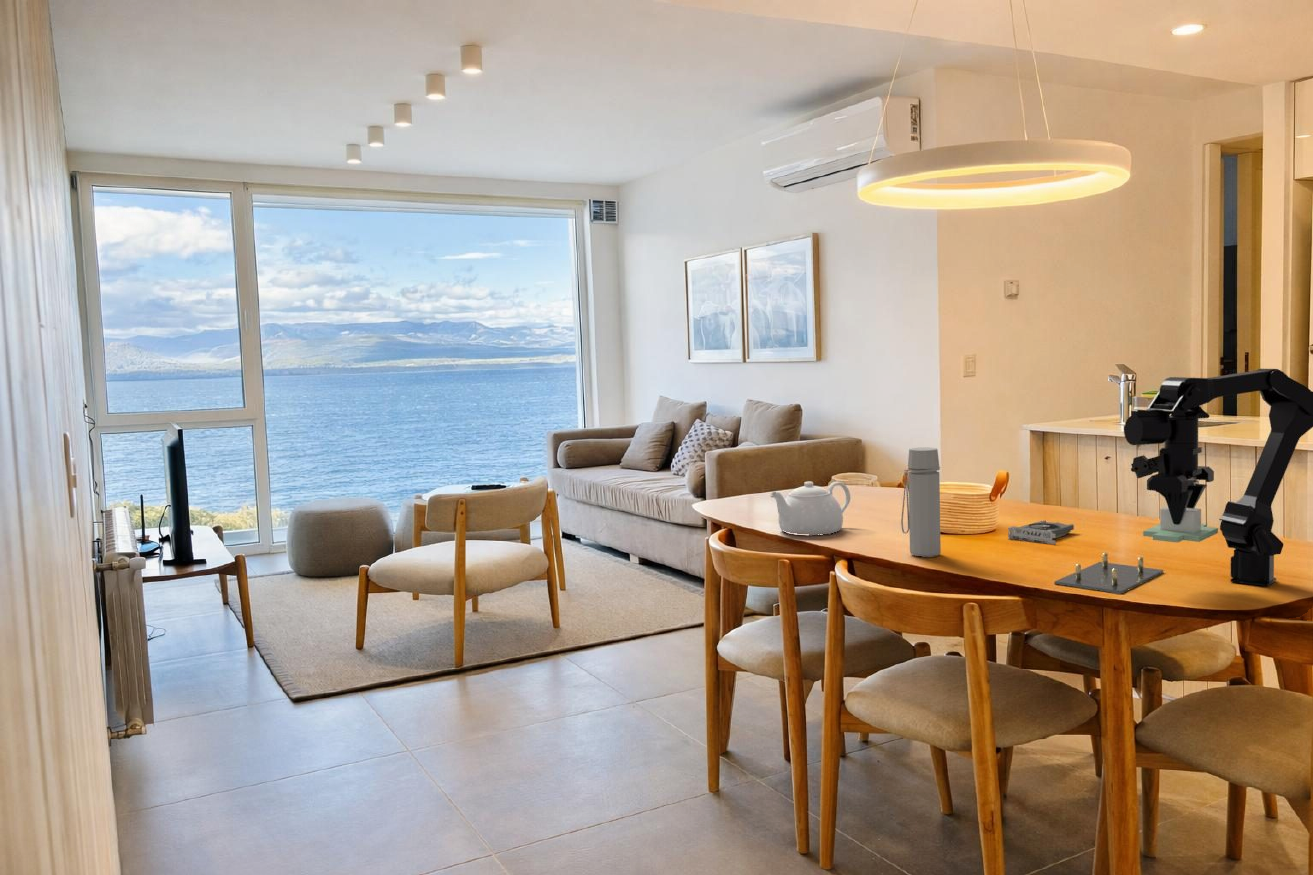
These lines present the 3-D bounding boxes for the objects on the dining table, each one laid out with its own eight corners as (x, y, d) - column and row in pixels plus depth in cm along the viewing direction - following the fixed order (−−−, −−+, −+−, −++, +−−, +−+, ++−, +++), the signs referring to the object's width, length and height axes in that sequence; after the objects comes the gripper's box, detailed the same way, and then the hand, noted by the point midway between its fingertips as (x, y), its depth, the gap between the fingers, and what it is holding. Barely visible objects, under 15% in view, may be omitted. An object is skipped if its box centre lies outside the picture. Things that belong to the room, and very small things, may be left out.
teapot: (840, 538, 253) (839, 486, 252) (770, 536, 259) (769, 486, 258) (851, 525, 271) (850, 476, 269) (786, 524, 277) (784, 476, 276)
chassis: (1163, 572, 203) (1163, 555, 203) (1120, 593, 188) (1120, 575, 188) (1099, 564, 213) (1099, 548, 212) (1054, 584, 198) (1054, 566, 197)
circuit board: (1222, 530, 192) (1223, 505, 191) (1194, 544, 181) (1194, 517, 180) (1168, 525, 199) (1168, 501, 198) (1137, 538, 188) (1137, 512, 187)
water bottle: (945, 552, 231) (944, 447, 229) (936, 559, 224) (934, 451, 222) (907, 549, 236) (905, 446, 233) (896, 556, 229) (894, 450, 227)
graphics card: (1053, 532, 234) (1006, 526, 243) (1052, 548, 234) (1006, 541, 243) (1086, 523, 245) (1040, 517, 254) (1086, 537, 245) (1040, 531, 254)
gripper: (1155, 436, 200) (1154, 511, 202) (1118, 445, 188) (1118, 525, 189) (1215, 438, 192) (1214, 517, 194) (1181, 448, 179) (1180, 531, 181)
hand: (1180, 522), depth 189 cm, fingers closed on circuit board, 4 cm apart
